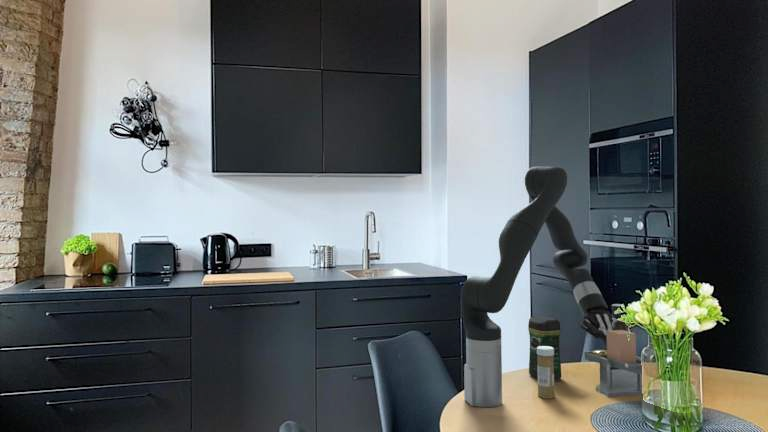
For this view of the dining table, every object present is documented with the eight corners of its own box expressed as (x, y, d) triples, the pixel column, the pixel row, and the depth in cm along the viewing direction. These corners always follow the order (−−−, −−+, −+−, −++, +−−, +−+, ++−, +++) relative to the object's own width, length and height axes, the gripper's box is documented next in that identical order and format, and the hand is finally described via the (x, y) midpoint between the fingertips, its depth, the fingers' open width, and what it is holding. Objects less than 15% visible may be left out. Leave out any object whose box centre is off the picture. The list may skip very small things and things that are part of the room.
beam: (636, 374, 143) (635, 365, 143) (583, 360, 168) (582, 351, 169) (665, 372, 144) (665, 363, 145) (608, 358, 170) (608, 350, 170)
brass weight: (598, 358, 164) (598, 352, 164) (590, 356, 168) (590, 350, 168) (612, 357, 165) (611, 351, 165) (603, 355, 169) (603, 349, 169)
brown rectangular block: (619, 363, 153) (618, 334, 153) (607, 359, 159) (606, 330, 159) (636, 362, 154) (635, 333, 154) (623, 358, 160) (622, 329, 160)
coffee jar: (566, 380, 169) (565, 318, 169) (544, 383, 166) (543, 320, 166) (545, 372, 178) (544, 313, 178) (524, 374, 175) (523, 315, 175)
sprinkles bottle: (558, 397, 153) (557, 347, 153) (546, 400, 150) (546, 349, 151) (545, 392, 157) (544, 344, 157) (533, 395, 154) (533, 346, 154)
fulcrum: (607, 396, 152) (607, 361, 152) (595, 390, 158) (595, 356, 158) (647, 394, 155) (647, 359, 155) (634, 387, 160) (634, 354, 160)
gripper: (574, 293, 168) (597, 343, 156) (614, 291, 171) (640, 340, 159) (565, 307, 173) (587, 357, 161) (604, 306, 176) (629, 354, 164)
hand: (613, 348), depth 160 cm, fingers closed
